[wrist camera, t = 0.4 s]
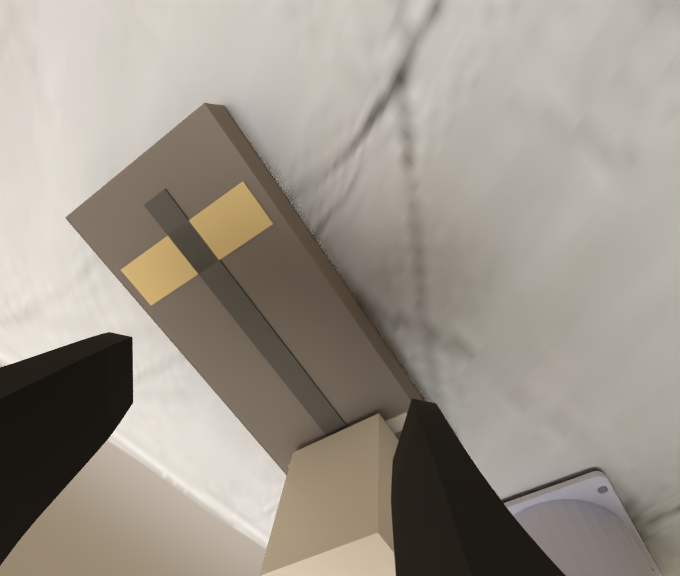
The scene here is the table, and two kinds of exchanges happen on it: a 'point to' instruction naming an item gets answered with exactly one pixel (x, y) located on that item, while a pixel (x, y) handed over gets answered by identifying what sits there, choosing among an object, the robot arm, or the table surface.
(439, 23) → the table surface
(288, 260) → the fader console
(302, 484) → the fader tab
